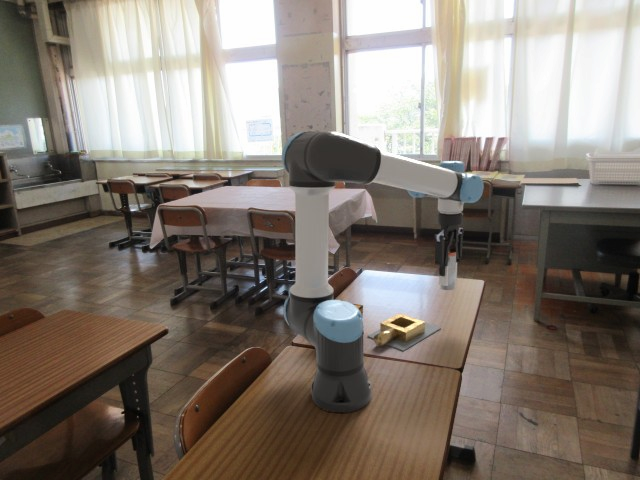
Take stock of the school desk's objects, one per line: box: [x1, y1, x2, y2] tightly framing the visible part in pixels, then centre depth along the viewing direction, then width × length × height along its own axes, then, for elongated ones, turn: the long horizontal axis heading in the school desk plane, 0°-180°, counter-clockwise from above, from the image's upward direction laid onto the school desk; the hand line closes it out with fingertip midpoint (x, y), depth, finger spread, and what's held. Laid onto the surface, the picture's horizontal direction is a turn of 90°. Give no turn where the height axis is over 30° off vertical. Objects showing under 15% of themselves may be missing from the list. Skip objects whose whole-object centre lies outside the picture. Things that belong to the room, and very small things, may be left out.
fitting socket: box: [373, 313, 426, 347], centre depth 139 cm, size 17×10×4 cm, turn 133°
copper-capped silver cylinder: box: [439, 250, 456, 291], centre depth 142 cm, size 5×5×12 cm
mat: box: [367, 322, 442, 352], centre depth 143 cm, size 20×14×1 cm
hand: (447, 282), depth 143 cm, fingers closed on copper-capped silver cylinder, 5 cm apart
